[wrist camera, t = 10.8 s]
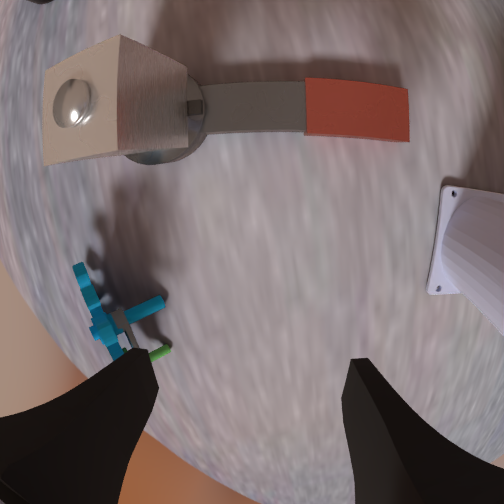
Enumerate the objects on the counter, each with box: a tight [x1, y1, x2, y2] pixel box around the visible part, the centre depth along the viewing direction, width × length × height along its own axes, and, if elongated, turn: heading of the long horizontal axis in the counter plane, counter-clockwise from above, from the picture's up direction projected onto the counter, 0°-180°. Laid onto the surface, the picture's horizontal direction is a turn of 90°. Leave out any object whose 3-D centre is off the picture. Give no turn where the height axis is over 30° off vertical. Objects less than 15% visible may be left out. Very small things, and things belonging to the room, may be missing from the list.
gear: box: [72, 262, 171, 362], centre depth 19 cm, size 11×6×10 cm
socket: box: [43, 34, 188, 166], centre depth 11 cm, size 5×5×6 cm
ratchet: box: [125, 74, 409, 165], centre depth 13 cm, size 18×6×5 cm, turn 91°
